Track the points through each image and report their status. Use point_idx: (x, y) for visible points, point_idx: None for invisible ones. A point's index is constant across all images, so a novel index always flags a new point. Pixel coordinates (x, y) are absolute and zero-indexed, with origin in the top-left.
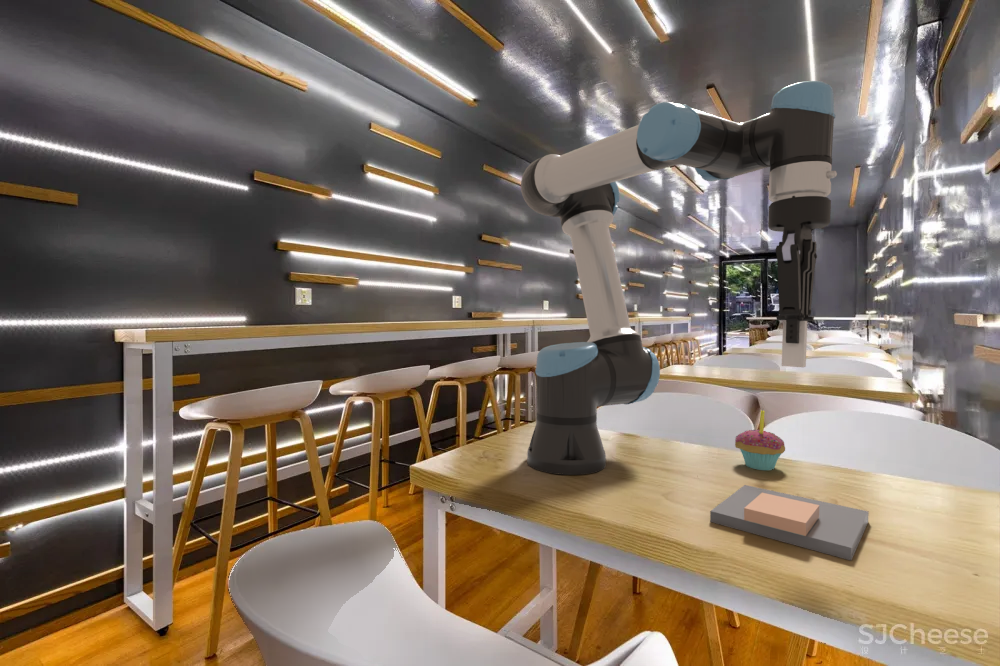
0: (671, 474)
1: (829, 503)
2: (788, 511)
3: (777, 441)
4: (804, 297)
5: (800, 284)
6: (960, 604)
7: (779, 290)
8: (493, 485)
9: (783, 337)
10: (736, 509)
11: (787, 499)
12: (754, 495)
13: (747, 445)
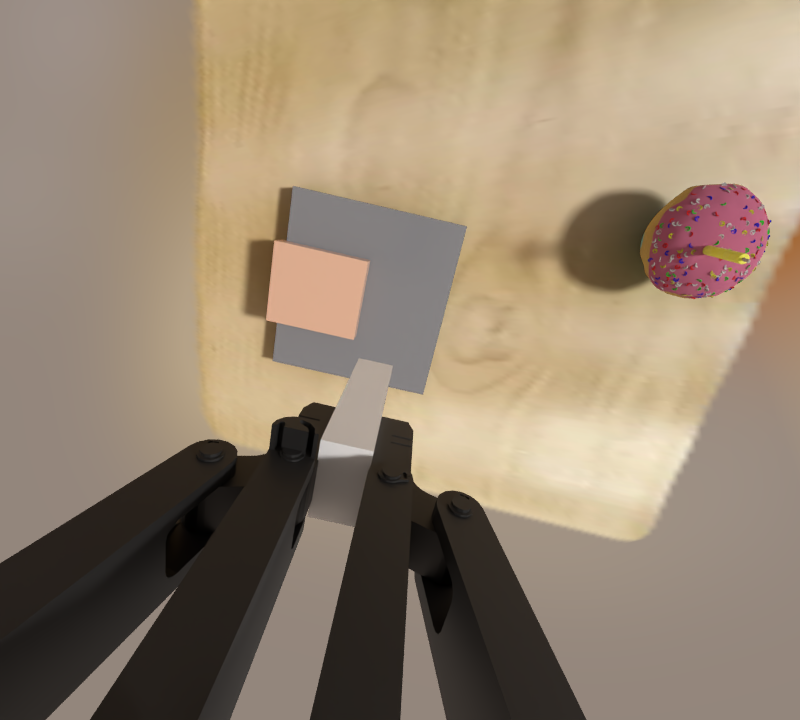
0: (532, 58)
1: (432, 351)
2: (299, 300)
3: (678, 285)
4: (267, 620)
5: (84, 679)
6: (239, 427)
7: (52, 535)
8: None
9: (339, 403)
10: (324, 224)
11: (355, 299)
12: (411, 246)
13: (660, 218)
